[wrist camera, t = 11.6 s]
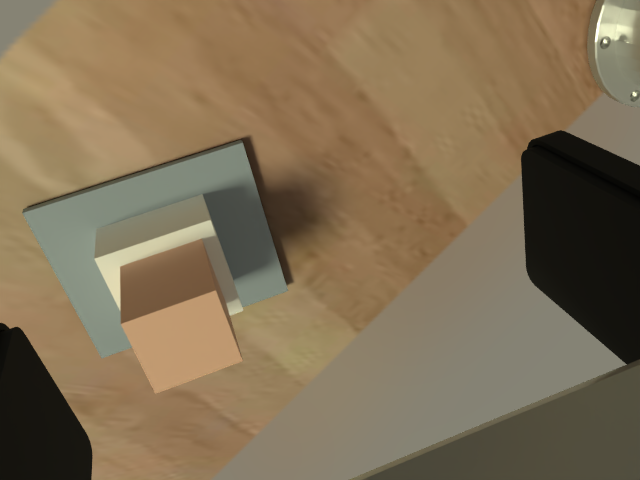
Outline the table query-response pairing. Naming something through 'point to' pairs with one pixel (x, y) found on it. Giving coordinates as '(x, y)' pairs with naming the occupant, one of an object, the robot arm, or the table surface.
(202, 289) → the terracotta block
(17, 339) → the robot arm
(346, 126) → the table surface
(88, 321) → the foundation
